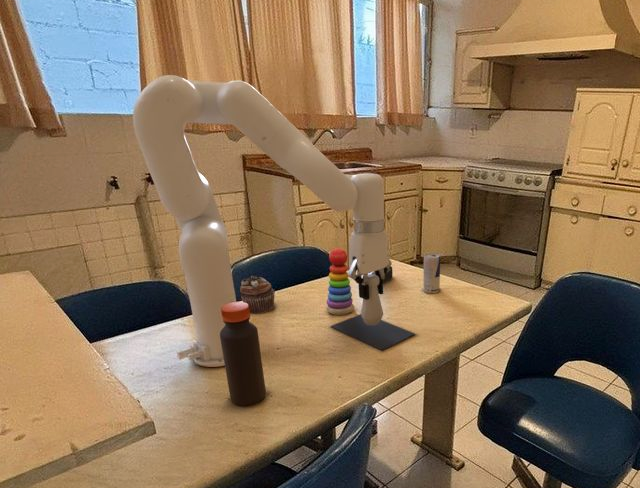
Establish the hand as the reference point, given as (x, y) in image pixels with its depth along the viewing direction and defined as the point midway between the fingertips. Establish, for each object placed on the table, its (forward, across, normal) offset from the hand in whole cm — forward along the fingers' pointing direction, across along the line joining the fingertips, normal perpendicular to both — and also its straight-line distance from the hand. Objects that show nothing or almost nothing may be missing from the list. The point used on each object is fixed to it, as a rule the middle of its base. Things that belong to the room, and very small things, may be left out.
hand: (371, 295), depth 118 cm
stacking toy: (+11, -3, -17) cm, 20 cm away
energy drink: (+11, -34, -8) cm, 36 cm away
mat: (+10, 0, 0) cm, 10 cm away
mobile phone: (+11, -27, -25) cm, 38 cm away
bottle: (+10, +38, +4) cm, 40 cm away
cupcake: (+10, +12, -36) cm, 39 cm away
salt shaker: (+8, 0, 0) cm, 8 cm away
